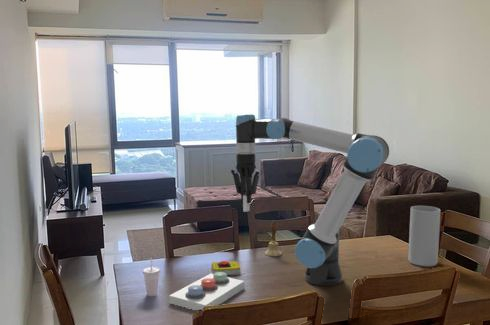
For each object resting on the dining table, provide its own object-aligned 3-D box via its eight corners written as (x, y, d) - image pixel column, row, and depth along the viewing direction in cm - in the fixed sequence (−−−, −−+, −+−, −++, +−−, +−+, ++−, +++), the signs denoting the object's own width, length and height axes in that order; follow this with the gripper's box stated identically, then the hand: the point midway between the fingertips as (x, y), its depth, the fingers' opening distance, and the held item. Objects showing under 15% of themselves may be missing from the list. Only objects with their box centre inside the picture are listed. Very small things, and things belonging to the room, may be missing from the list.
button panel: (244, 288, 185) (244, 280, 185) (205, 313, 163) (205, 304, 163) (210, 280, 194) (210, 272, 193) (169, 303, 171) (169, 294, 171)
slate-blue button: (205, 292, 172) (205, 287, 172) (196, 297, 168) (196, 291, 167) (194, 289, 175) (193, 284, 174) (185, 294, 170) (185, 288, 170)
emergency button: (208, 259, 207) (241, 257, 210) (208, 269, 208) (241, 267, 210) (210, 267, 198) (245, 265, 201) (210, 277, 199) (245, 275, 201)
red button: (217, 285, 179) (217, 280, 179) (210, 290, 174) (209, 284, 174) (206, 282, 182) (206, 277, 181) (198, 287, 177) (198, 281, 177)
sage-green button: (229, 278, 186) (229, 273, 185) (222, 283, 181) (222, 277, 181) (218, 276, 188) (218, 271, 188) (210, 280, 184) (210, 275, 184)
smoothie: (161, 290, 183) (160, 255, 181) (159, 297, 177) (158, 261, 175) (144, 291, 183) (144, 255, 181) (141, 297, 176) (140, 261, 175)
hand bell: (262, 252, 231) (262, 220, 229) (278, 250, 233) (278, 218, 231) (268, 257, 223) (268, 224, 221) (284, 255, 225) (285, 222, 223)
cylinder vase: (402, 262, 216) (405, 208, 213) (416, 256, 225) (419, 204, 222) (429, 269, 207) (431, 213, 204) (442, 262, 215) (445, 209, 212)
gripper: (227, 153, 189) (227, 211, 192) (255, 154, 183) (256, 214, 186) (236, 151, 196) (237, 207, 199) (264, 152, 190) (264, 210, 192)
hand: (246, 210), depth 192 cm, fingers closed
